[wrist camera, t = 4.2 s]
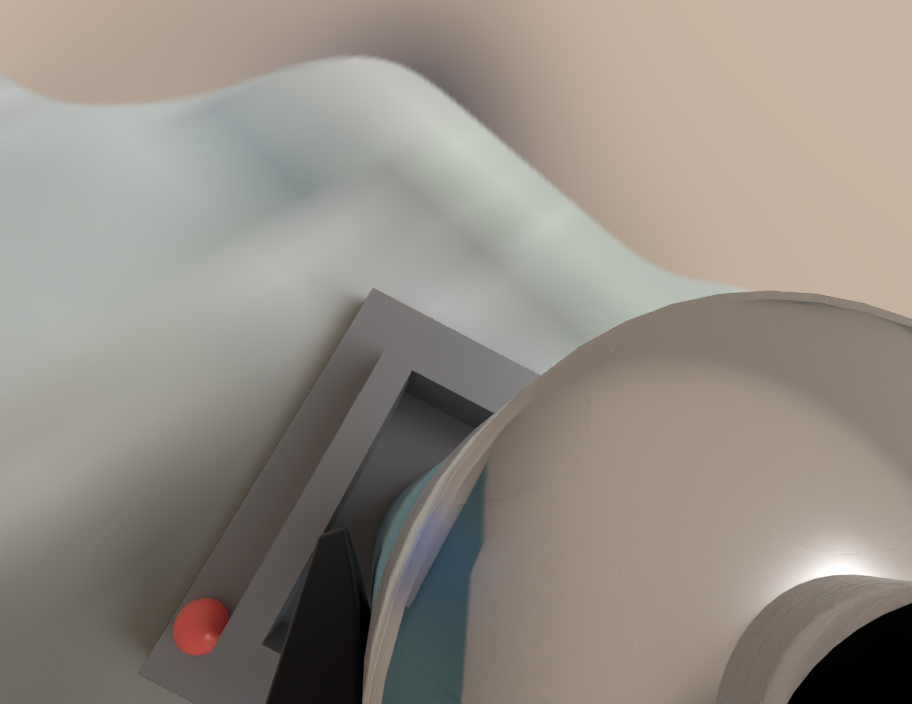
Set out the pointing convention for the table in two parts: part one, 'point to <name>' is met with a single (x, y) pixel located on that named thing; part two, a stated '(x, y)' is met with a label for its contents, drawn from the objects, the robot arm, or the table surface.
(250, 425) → the table surface
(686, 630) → the battery
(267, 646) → the tray
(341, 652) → the robot arm
